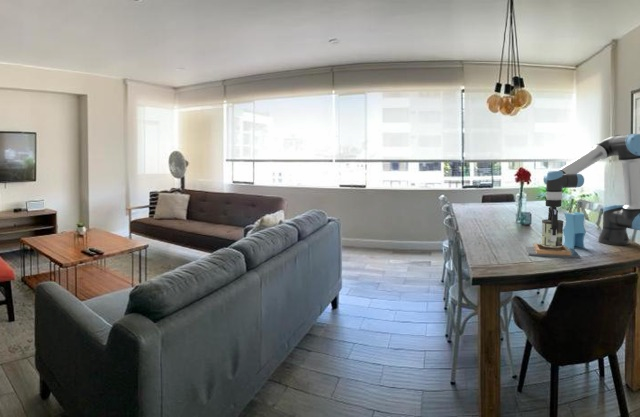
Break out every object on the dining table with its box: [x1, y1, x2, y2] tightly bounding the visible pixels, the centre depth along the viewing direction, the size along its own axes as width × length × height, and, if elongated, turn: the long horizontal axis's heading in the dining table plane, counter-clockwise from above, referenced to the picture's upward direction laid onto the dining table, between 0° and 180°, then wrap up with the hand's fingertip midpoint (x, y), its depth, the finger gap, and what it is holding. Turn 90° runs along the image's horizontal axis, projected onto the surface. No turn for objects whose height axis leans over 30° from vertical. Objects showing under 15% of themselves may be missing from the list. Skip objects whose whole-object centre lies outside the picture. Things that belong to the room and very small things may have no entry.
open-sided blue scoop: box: [563, 211, 587, 250], centre depth 232 cm, size 8×8×20 cm
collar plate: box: [525, 243, 581, 259], centre depth 221 cm, size 24×17×3 cm
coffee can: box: [540, 218, 564, 248], centre depth 220 cm, size 10×10×14 cm
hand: (551, 239), depth 220 cm, fingers closed on coffee can, 10 cm apart
